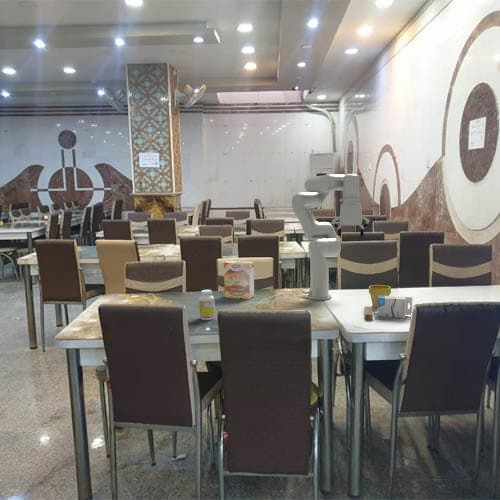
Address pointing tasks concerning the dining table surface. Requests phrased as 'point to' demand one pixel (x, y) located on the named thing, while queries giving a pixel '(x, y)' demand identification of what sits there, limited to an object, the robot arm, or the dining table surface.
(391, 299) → the ink box
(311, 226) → the robot arm
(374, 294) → the plant pot
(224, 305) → the dining table surface
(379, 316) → the mat
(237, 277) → the coffeecake box
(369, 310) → the rail
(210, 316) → the supplement bottle
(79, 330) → the dining table surface
